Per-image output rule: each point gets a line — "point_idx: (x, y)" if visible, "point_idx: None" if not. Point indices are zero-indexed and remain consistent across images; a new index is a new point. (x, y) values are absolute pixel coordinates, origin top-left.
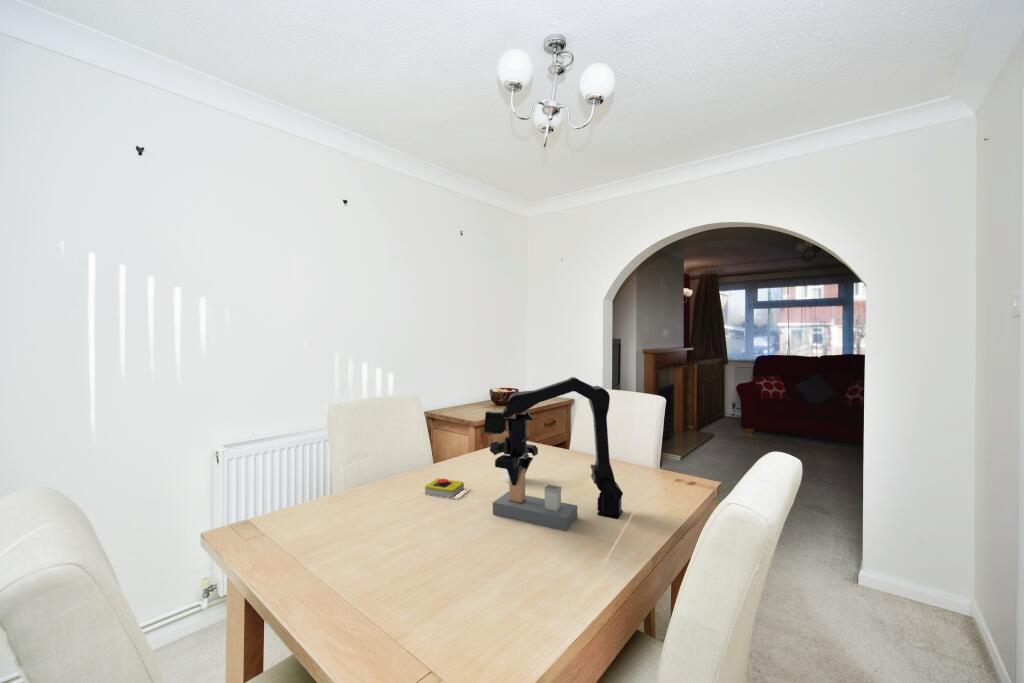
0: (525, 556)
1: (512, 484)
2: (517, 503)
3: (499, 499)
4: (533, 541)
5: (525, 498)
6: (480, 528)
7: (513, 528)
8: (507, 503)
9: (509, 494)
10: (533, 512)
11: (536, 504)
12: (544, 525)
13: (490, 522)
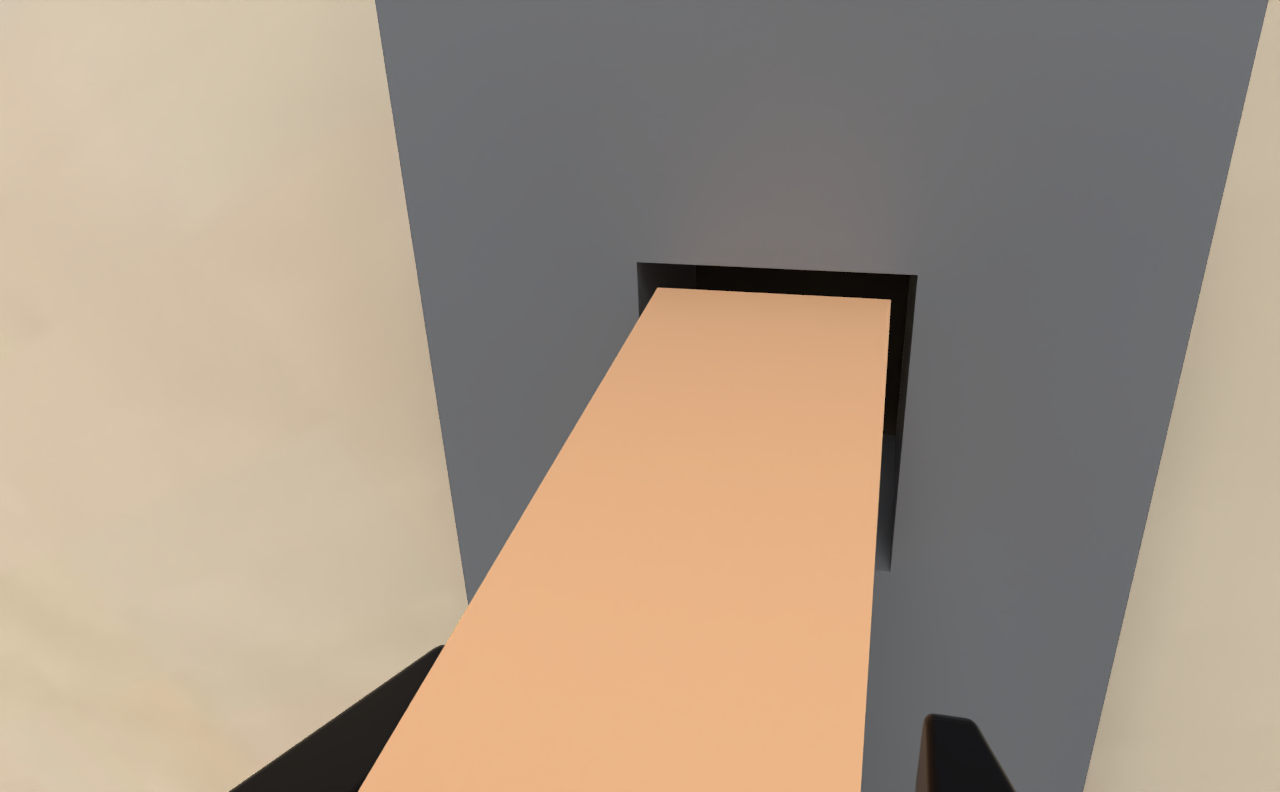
0: (3, 703)
1: (429, 662)
2: None
3: (606, 25)
4: (238, 706)
5: (949, 538)
6: (22, 28)
7: (326, 446)
8: (513, 305)
9: (621, 349)
10: None
11: None
12: None
13: (256, 62)
